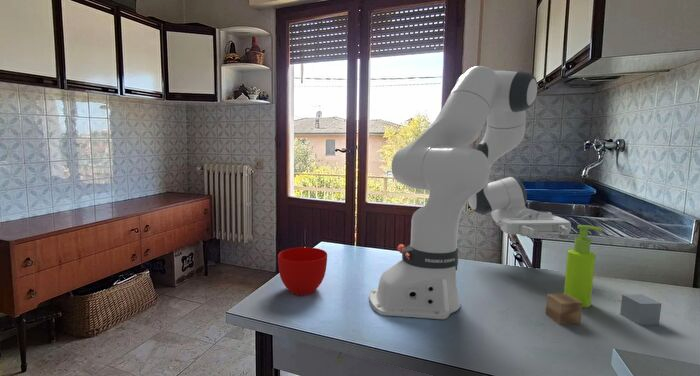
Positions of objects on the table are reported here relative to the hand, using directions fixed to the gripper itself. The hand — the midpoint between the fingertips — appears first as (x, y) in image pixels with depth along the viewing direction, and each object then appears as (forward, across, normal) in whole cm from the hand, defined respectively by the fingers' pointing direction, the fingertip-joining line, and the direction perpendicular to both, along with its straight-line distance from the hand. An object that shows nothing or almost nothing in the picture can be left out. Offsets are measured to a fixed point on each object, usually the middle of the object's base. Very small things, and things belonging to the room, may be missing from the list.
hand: (550, 232), depth 104 cm
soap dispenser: (+14, 0, +15) cm, 20 cm away
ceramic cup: (+2, -70, +14) cm, 71 cm away
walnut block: (+22, -10, +15) cm, 28 cm away
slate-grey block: (+23, +8, +15) cm, 28 cm away
